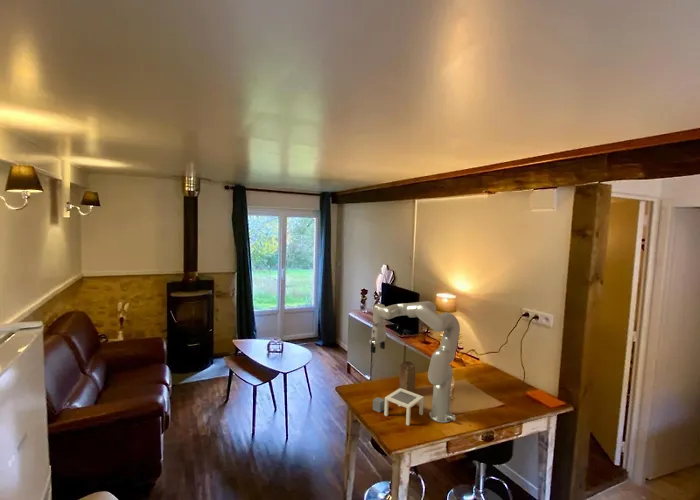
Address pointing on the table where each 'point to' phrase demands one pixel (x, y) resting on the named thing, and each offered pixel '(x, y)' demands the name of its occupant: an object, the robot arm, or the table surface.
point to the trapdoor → (404, 397)
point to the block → (407, 376)
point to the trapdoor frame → (408, 406)
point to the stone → (378, 404)
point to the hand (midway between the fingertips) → (377, 350)
